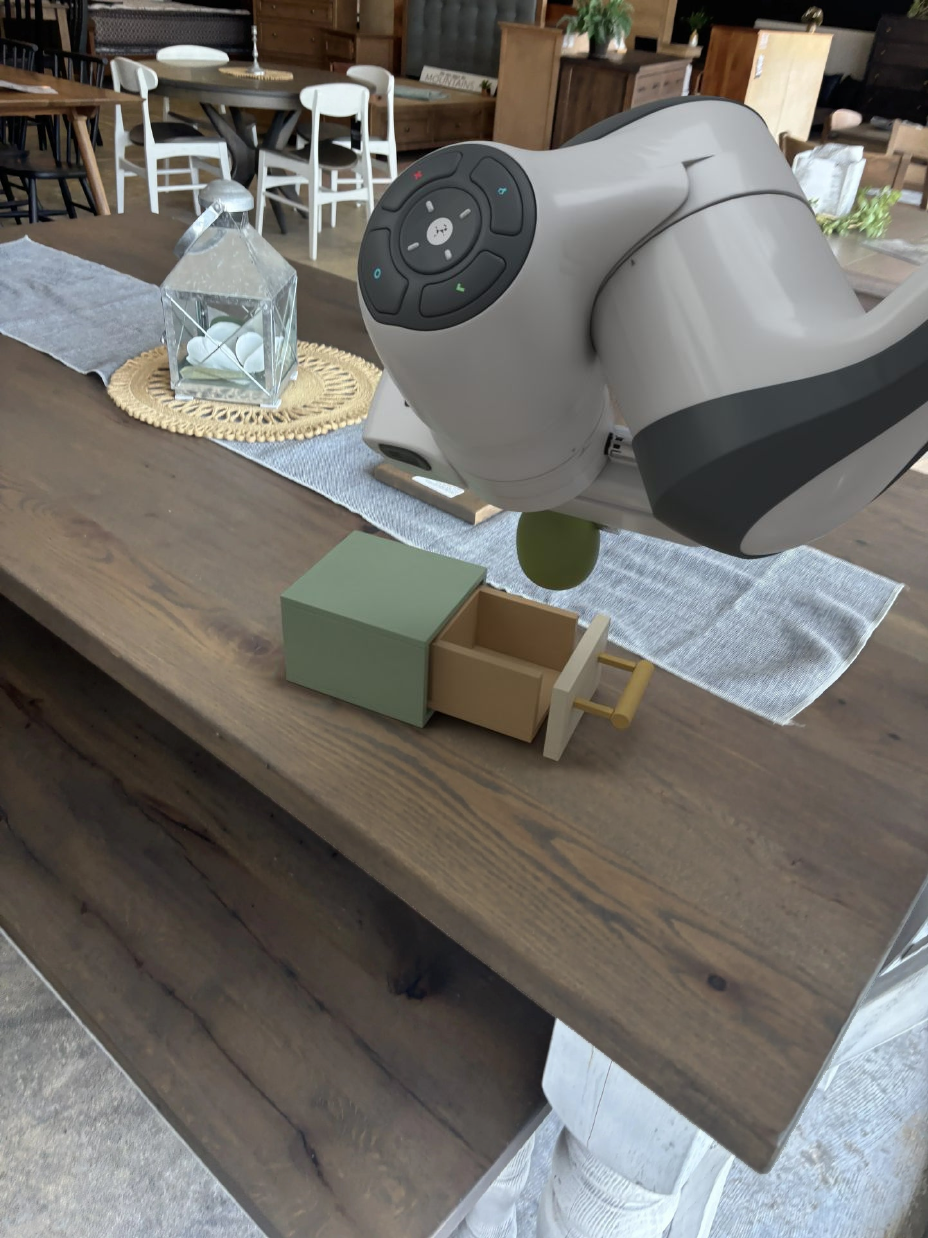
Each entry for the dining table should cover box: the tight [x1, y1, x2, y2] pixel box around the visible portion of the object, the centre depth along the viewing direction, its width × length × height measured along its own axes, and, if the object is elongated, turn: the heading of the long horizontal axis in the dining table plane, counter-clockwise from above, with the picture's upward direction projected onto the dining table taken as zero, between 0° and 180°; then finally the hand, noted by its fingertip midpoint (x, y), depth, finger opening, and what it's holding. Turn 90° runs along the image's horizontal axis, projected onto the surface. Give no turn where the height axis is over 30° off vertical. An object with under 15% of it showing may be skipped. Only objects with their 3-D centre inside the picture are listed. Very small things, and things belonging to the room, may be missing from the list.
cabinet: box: [279, 529, 488, 729], centre depth 74 cm, size 12×11×8 cm
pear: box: [515, 510, 601, 592], centre depth 59 cm, size 6×5×10 cm
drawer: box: [427, 584, 655, 762], centre depth 70 cm, size 16×10×7 cm, turn 66°
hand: (564, 509), depth 60 cm, fingers closed on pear, 5 cm apart
